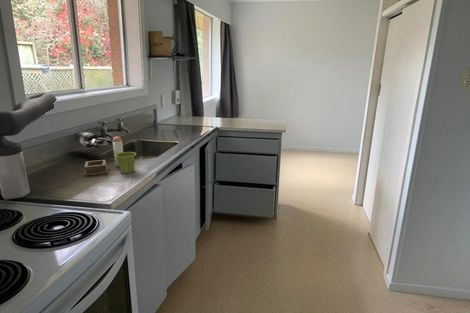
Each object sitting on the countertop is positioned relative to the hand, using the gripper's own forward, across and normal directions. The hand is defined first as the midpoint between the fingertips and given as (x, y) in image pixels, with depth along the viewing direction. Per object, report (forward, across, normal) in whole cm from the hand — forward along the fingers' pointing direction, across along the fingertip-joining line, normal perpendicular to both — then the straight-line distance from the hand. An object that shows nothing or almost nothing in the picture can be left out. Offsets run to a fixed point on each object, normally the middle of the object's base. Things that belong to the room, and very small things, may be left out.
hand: (105, 144), depth 166 cm
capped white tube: (+11, 0, +9) cm, 14 cm away
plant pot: (+22, -3, +9) cm, 24 cm away
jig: (+10, -12, +9) cm, 18 cm away
